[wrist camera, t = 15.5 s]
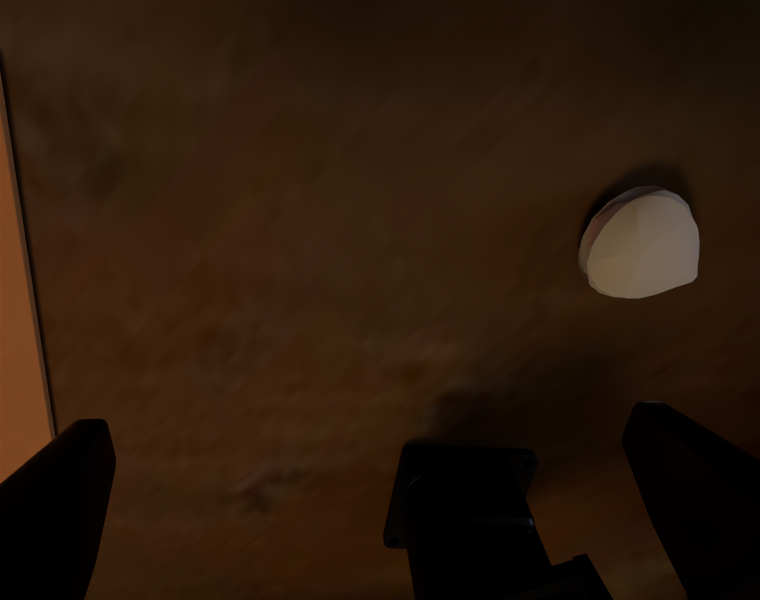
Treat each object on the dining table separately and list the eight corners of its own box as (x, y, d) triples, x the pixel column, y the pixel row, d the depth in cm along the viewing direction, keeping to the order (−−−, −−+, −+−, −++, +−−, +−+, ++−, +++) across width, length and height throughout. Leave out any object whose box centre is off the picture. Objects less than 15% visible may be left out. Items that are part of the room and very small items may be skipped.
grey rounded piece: (620, 160, 20) (657, 179, 18) (714, 219, 22) (759, 245, 20) (548, 257, 22) (575, 286, 20) (641, 306, 23) (675, 339, 21)
